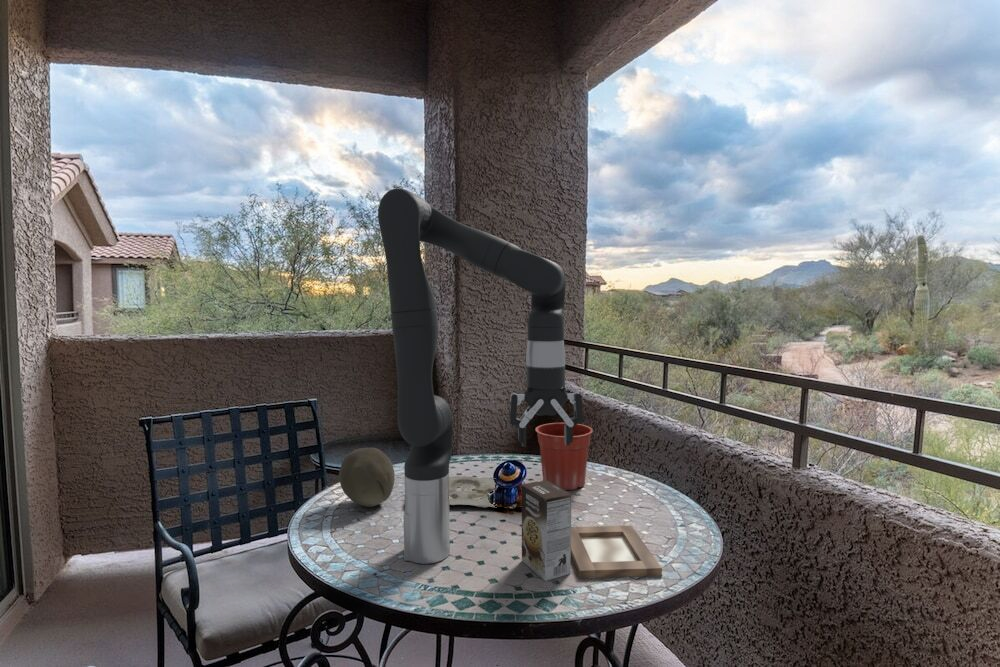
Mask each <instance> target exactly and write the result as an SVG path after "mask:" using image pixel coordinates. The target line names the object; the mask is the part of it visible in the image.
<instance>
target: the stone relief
mask: <svg viewBox="0 0 1000 667" xmlns="http://www.w3.org/2000/svg"><path fill="white" fill-rule="evenodd" d="M493 479H494V478H489V477H480V478H479V477H472V476H465V475H464V476H449V496H450V497H449V506H450V505H451V506H455V505H463V506H465V505H466V506H467V505H469V506H475V507H478V508H488V507H491V508H496V507H495V506H494V505H493V504H491V503H490V502H489V500H488V495H489V494H491V493H490V492H492V491H493V490H494V488H495V483H494V480H493ZM457 487H461V488H460V489H461V490H458V489H457ZM472 488H473V489H474V490H471V489H472ZM466 489H467V490H466ZM488 493H489V494H488ZM451 497H452V498H451ZM450 498H451V499H450Z"/></svg>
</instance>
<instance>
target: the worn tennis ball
mask: <svg viewBox="0 0 1000 667" xmlns="http://www.w3.org/2000/svg"><path fill="white" fill-rule="evenodd" d="M338 472H339V473H338V478H339V483H340V488H341V490H342V491H343V493H344V494H345V496H347V498H349V500H351V501H352V502H353V503H355V504H358V505H359V506H362V507H365V508H366V507H367V508H373V507H375V506H378V505H380V504H382V503H384V502H386V501H387V500H388V499H389V497H390V496H391V494H392V492H393V489H394V484H395V479H396V476H395V468H394V465H393V463H392V461H391V459H390V458H389V457H388V455H387V454H386V453H384V451H383V450H381V449H379V448H376V447H361V448H360V447H359V448H357V449H354V450H352V451H351V452H350V453H348V454H347V455H346V456H345V458H344V459H343V460H342V462H341V465H340V468H339V471H338Z"/></svg>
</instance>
